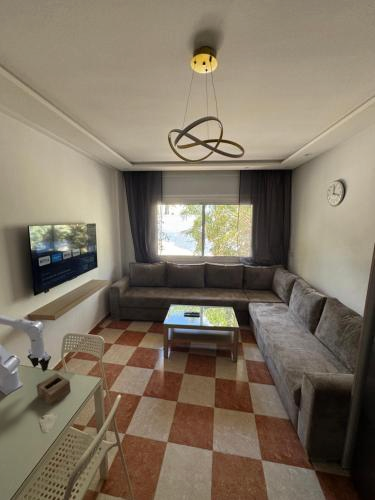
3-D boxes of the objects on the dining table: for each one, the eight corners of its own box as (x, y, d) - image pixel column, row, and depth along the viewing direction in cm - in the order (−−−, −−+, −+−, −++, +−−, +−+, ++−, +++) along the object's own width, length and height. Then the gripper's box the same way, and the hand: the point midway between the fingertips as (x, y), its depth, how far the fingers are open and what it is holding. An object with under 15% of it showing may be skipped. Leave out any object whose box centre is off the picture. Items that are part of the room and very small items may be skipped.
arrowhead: (57, 408, 105) (56, 428, 97) (57, 411, 106) (56, 431, 97) (40, 415, 102) (37, 436, 94) (40, 418, 103) (38, 439, 94)
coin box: (37, 395, 115) (36, 385, 114) (57, 382, 123) (56, 373, 122) (51, 405, 109) (50, 394, 108) (70, 391, 118) (69, 381, 116)
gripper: (21, 345, 117) (24, 368, 119) (38, 353, 111) (41, 377, 113) (35, 338, 123) (37, 360, 125) (52, 345, 117) (54, 368, 119)
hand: (40, 368), depth 120 cm, fingers open, 7 cm apart
